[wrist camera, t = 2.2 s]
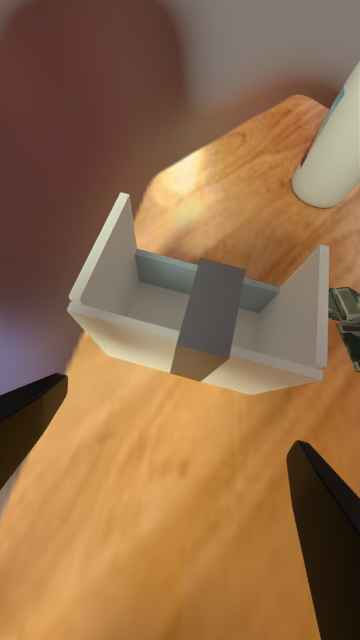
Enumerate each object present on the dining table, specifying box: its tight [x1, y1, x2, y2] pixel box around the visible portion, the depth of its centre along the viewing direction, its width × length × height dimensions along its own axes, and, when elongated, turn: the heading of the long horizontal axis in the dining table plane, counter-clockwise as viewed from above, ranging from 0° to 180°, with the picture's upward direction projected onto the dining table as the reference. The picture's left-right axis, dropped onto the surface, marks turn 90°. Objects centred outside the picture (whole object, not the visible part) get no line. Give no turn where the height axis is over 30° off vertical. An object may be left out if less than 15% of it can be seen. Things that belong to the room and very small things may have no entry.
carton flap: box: [67, 258, 323, 395], centre depth 14 cm, size 3×13×15 cm, turn 75°
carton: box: [69, 193, 329, 369], centre depth 19 cm, size 8×14×12 cm, turn 75°
